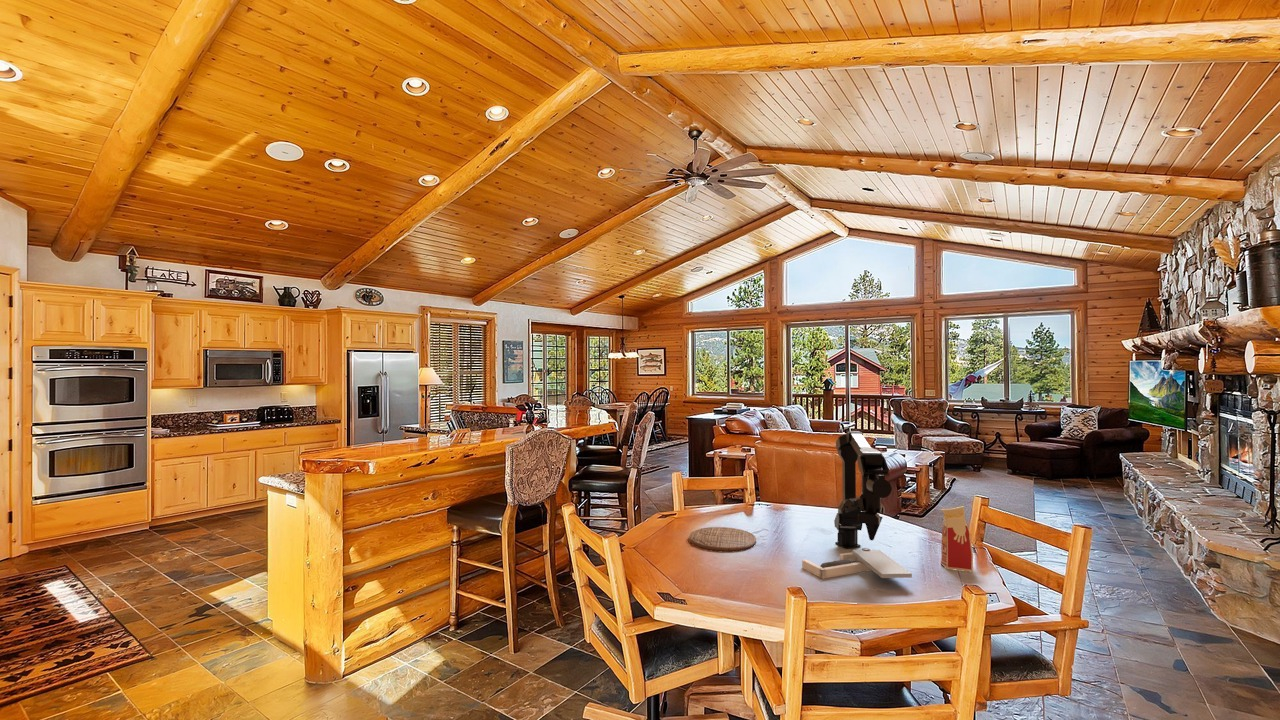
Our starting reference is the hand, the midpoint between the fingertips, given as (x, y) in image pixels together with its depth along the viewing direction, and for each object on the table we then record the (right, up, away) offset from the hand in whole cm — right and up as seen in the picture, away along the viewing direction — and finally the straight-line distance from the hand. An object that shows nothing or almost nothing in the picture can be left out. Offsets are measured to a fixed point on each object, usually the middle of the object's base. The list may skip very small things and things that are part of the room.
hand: (871, 539), depth 184 cm
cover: (+2, -7, -3) cm, 7 cm away
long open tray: (-9, -10, +4) cm, 14 cm away
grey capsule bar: (-11, -11, +1) cm, 15 cm away
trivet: (-43, -11, +33) cm, 55 cm away
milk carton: (+30, -11, +6) cm, 32 cm away
